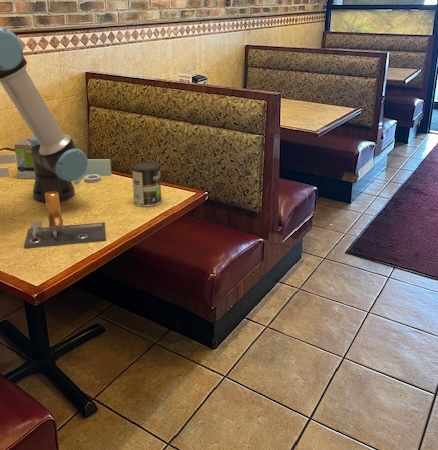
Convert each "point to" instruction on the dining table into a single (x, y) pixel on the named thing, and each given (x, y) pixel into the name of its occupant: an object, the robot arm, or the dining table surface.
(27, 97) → the robot arm
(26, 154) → the tea box
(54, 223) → the sliding jaw
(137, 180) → the coffee can
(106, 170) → the l-shaped corner panel
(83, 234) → the plate
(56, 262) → the dining table surface
